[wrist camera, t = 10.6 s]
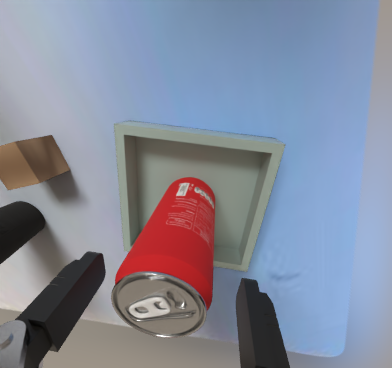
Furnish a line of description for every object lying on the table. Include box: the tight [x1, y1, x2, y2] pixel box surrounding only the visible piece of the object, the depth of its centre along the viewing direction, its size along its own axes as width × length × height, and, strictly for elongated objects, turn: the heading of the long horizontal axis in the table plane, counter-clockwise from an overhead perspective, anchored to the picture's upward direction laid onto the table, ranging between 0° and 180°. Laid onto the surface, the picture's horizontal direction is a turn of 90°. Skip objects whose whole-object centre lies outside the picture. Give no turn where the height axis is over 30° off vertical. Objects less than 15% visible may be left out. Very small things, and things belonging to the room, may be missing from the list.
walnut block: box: [0, 135, 70, 190], centre depth 19 cm, size 4×4×4 cm
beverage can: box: [111, 177, 215, 338], centre depth 14 cm, size 5×5×12 cm
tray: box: [114, 121, 285, 272], centre depth 19 cm, size 14×14×3 cm
